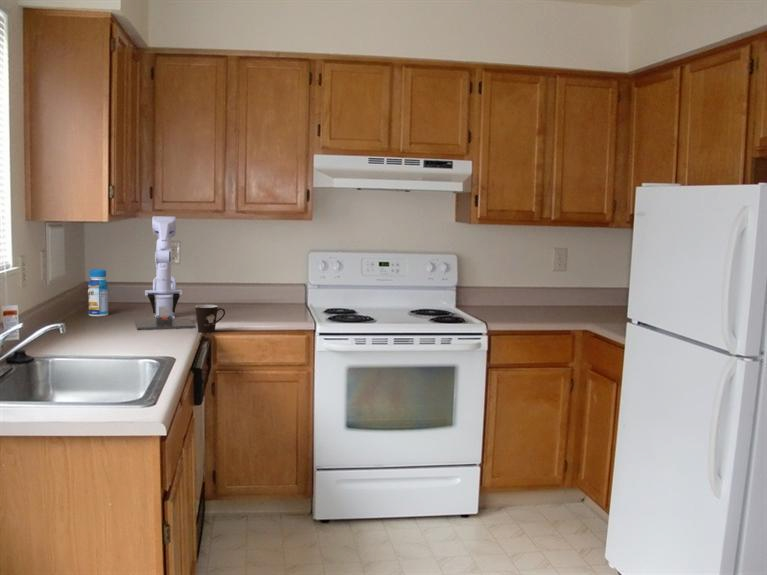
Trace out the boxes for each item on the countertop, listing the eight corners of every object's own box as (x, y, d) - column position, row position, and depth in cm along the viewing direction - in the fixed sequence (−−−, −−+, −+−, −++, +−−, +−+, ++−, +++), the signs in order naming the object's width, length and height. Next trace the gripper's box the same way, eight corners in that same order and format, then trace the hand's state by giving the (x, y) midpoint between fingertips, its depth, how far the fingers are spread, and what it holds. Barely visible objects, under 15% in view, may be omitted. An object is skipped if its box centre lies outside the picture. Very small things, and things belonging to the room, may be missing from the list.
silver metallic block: (158, 321, 307) (158, 306, 307) (168, 321, 309) (168, 306, 308) (159, 323, 304) (159, 307, 303) (169, 322, 305) (168, 307, 305)
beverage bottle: (109, 316, 326) (108, 270, 324) (89, 317, 322) (88, 270, 320) (107, 313, 334) (107, 268, 331) (87, 314, 330) (86, 269, 328)
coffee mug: (195, 333, 288) (195, 307, 287) (195, 329, 296) (194, 304, 295) (226, 332, 291) (226, 307, 290) (224, 329, 299) (224, 304, 298)
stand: (134, 321, 313) (134, 313, 312) (188, 320, 321) (188, 311, 320) (137, 330, 292) (137, 321, 292) (194, 328, 300) (194, 319, 300)
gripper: (145, 280, 298) (145, 314, 299) (182, 280, 303) (183, 313, 305) (144, 279, 305) (144, 312, 306) (181, 278, 310) (181, 311, 311)
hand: (163, 312), depth 306 cm, fingers open, 7 cm apart
